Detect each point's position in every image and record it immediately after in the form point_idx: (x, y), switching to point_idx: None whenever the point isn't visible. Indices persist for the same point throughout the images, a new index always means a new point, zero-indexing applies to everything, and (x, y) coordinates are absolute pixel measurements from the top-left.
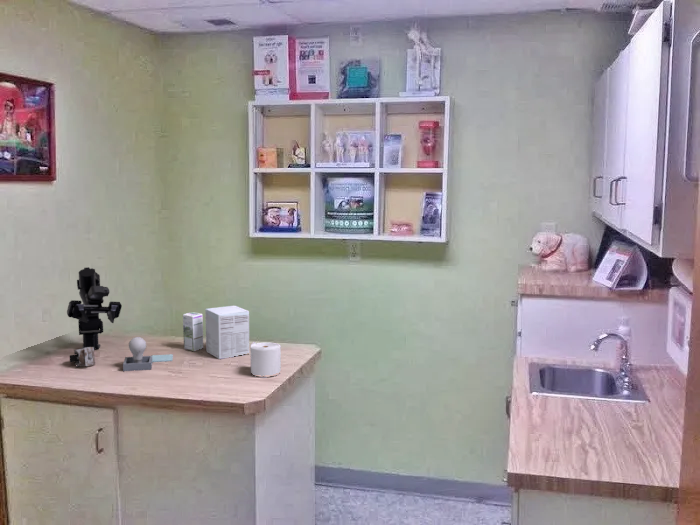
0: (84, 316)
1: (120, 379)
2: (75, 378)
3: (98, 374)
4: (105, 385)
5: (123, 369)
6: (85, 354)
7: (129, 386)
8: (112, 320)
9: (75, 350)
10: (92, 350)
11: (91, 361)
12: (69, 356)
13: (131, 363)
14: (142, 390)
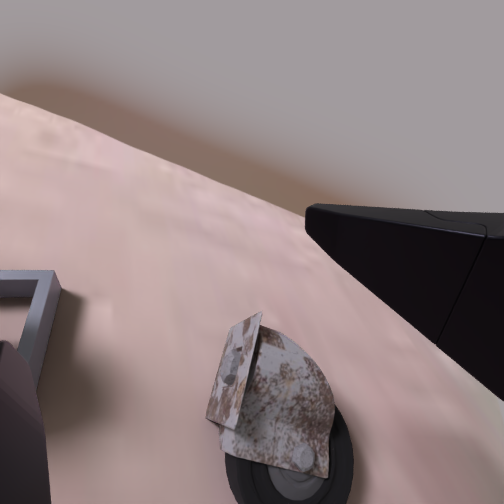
0: (378, 208)
1: (82, 206)
2: (233, 244)
3: (165, 268)
4: (132, 175)
5: (58, 283)
6: (246, 322)
7: (59, 152)
8: (9, 355)
9: (326, 403)
10: (232, 404)
11: (219, 380)
12: (345, 429)
13: (4, 277)
14: (25, 122)
